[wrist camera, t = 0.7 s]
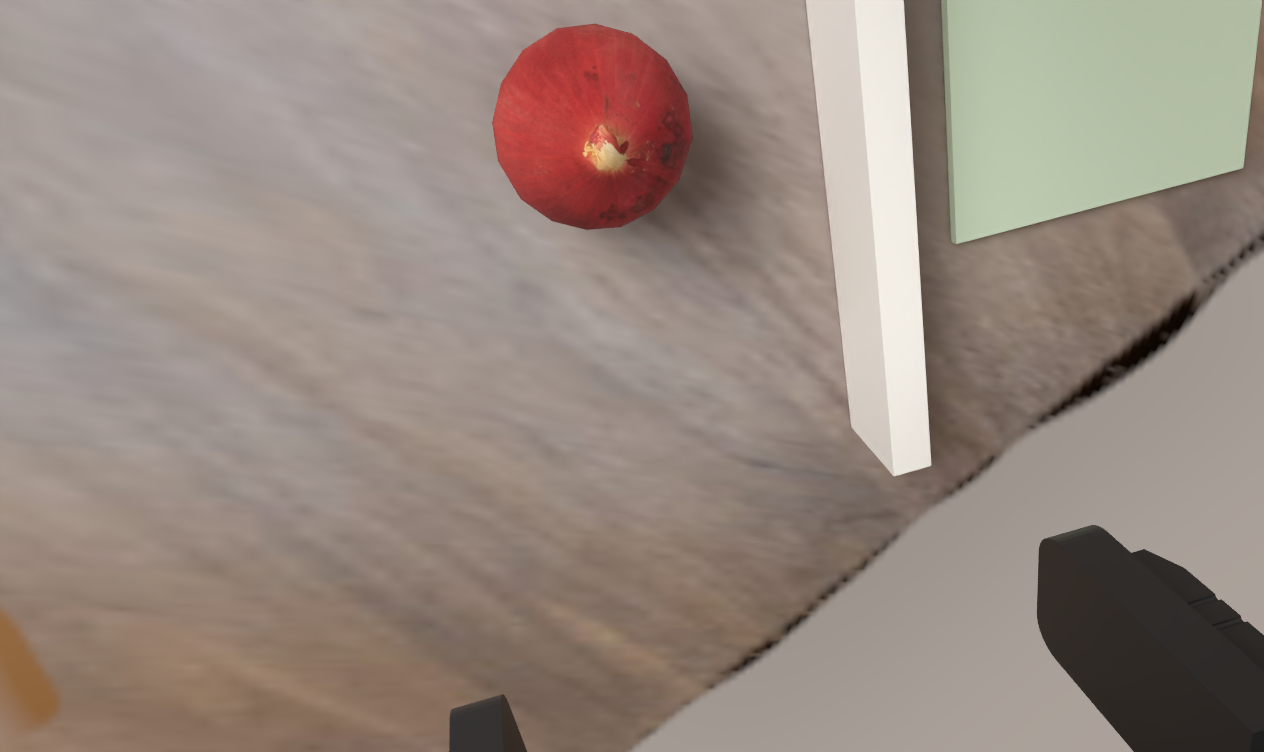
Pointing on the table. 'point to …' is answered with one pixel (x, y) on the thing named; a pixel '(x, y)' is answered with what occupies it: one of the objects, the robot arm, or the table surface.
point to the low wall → (873, 221)
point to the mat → (1089, 102)
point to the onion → (592, 127)
